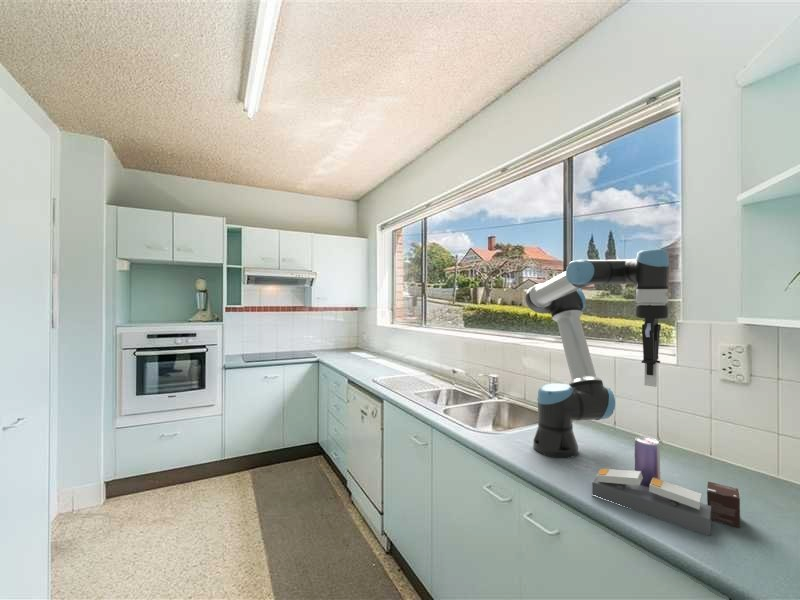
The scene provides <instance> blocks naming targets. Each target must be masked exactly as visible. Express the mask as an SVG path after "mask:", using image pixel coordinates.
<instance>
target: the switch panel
mask: <svg viewBox="0 0 800 600" xmlns="http://www.w3.org/2000/svg"><path fill="white" fill-rule="evenodd" d="M591 488H592V489H591V491H592V493H591V494H593V495H596V496H598V497H601V498H603V499H606V500H609V501H612V502H614V503H617V504H620V505H622V506H621V507H623V506H625V507H628V508H631V509H633V510H632V511H634V510H636V511H635V512H637V511H638V513H640V512H641V514H643V513H644V514H643V515H647V516H650V517H652V518H655V519H659V520H662V521H664V522H667V523H670V524H673V525H676V526H679V527H682V528H685V529H687V530H690V529H691V530H690V531H693V530H694V532H696V531H697V532H696V533H699V534H702V535H705V536H709V537H710V536H711V527H712V520H711V506H709V505H707V503H704V502H703V503H702V502H701V503H700V508H699V509H696V508H693V507H691V506H688V505H685V504H682V503H680V502H677V501H674V500H671V499H669V498H666V497H663V496H660V495H658V494H655V493H652V492H649V488H648V487H645V486H642V485H629V484H617V483H606V482H598V478H597V476H595V478H594V479H593V481H592V486H591ZM614 503H613V504H614ZM617 504H616V505H617ZM620 505H619V506H620ZM625 507H624V508H625ZM628 508H627V509H628ZM631 509H630V510H631Z"/></svg>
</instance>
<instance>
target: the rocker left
mask: <svg viewBox="0 0 800 600" xmlns="http://www.w3.org/2000/svg"><path fill="white" fill-rule="evenodd" d="M596 477H597V478H598V482H606V483H617V484H629V485H640V483H641V481H642V479H643V477H642V473H641V471H635V470H629V469H627V470H625V469H623V470H622V469H612V468H601V469H600V470H599V471H598V472H597V474H596Z"/></svg>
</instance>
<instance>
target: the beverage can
mask: <svg viewBox="0 0 800 600" xmlns="http://www.w3.org/2000/svg"><path fill="white" fill-rule="evenodd" d="M634 471H641V473H642V477H643V479H642V481H641V483H640V485H642V486H645V487H648V488H649V485H650V483H651V480H652V478H657V479H660V480H661V445H660V442H659V441H658V440H657V439H655V438H652V437H650V436H649V437H648V436H636V437H635V440H634Z"/></svg>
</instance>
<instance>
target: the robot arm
mask: <svg viewBox="0 0 800 600" xmlns="http://www.w3.org/2000/svg"><path fill="white" fill-rule="evenodd" d="M669 272H670V259H669V252H668V251H667V250H666V249H646V250H639V251H638V252H637V253H636V258H632V259H578V260H572V261H570V262H569V263H568V265H567V266H566V270H565V271H563V272H562V273H560V274H558V275H557V276H554V277H552V278H551V279H549V280H547V281H546V282H544V283H537V284H535V285H533V286H530V288H529V289H528V290H527V291H526V292H525V293H526V294H525V296H524V297H525V298H524V299H525V303H526V305H527V307H528V308H529V309H530V310H531V311H533V312H535V313H537V314H538V313H539V314H550V315H551V319H552V321H554V322H556V323H557V327H558V331H559V335H560V337H561V338H560V339H561V343H562V348H563V350H564V354H565V358H566V362H567V366H568V370H569V374H570V377H571V380H570V382H569V383H561V382H560V383H557V382H556V383H555V382H554V383H547V384H543V385H541V387H539V389H538V390H537V418H538V419H537V421H538V422H537V425H538V426H537V429H536V432H535V435H534V438H533V448H535V449H536V450H537V451H536V450H535V449H534V450H535V451H536V452H538V453H540V454H542V455H544V454H545V456H547V455H548V457H551V458H558V459H560V458H561V459H570V458H574V457H577V456H578V454H579V445H578V442H577V439H576V436H575V434H574V427H573V426H574V425H573V422H575V421H576V422H577V421H600V420H606V419H610V417H612V415H613V414H614V411H615V409H616V397H615V394H614V393H613V390H611V388H609V387H608V386H605V385H604V382H603V380H602V379H601V378H599V377H598V376H597V374H596V372H595V368H594V364H593V360H592V357H591V353H590V350H589V346H588V343H587V338H586V335H585V332H584V329H583V328H584V327H583V325H582V321H581V317H582V316H583V313H584V312H583V311H584V310H585V309H586V296H585V294H584V292H583V291H582V289H584V288H586V287H588V286H589V287H590V286H591V285H626V284H627V285H629V284H636V287H635V303H637V304H636V306H635V317H637V318H640V319H644V323H643V324H641V333H642V334H641V335H642V353H643V355H642V356H643V359H642V360H641V364H644V383H643V384H644V386H648V387H653V388H656V387H657V386H658V385H657V382H658V364H660V363H661V360H659V347H660V346H659V345H660V338H661V337H660V336H661V335H660V332H661V327H662V325H661V324H660V323H659V320H661V319H662V320H665V319H667V318H668V317H669V306H668V305H666V304H668V302H669V297H671V295H672V294H671V292H669Z"/></svg>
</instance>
